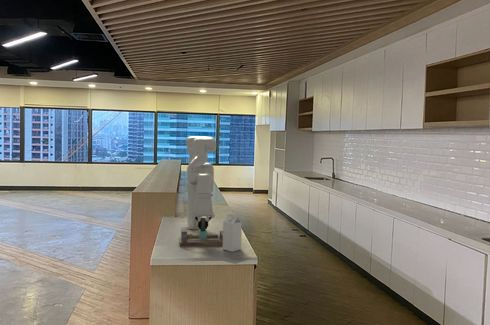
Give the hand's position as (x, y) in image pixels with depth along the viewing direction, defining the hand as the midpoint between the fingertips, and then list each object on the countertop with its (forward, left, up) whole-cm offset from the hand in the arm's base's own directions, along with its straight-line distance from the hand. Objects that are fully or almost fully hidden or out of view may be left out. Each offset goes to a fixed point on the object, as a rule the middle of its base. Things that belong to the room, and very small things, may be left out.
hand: (202, 228), depth 248 cm
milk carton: (+14, +15, -9) cm, 22 cm away
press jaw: (0, 0, -6) cm, 6 cm away
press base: (0, 0, -9) cm, 9 cm away
